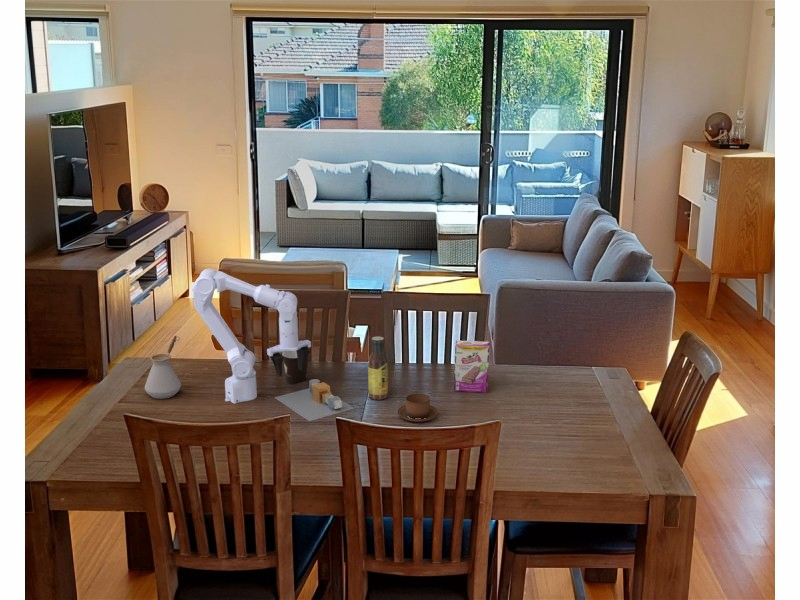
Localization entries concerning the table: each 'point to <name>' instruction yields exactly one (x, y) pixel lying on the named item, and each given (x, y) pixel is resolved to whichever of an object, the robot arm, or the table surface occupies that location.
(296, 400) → the base board
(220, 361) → the table surface
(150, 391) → the coffee pot
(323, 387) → the brown square block
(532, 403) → the table surface
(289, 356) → the coffee mug
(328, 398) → the shaft rig
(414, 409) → the cup and saucer
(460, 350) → the candy bar box
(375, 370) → the sauce bottle
